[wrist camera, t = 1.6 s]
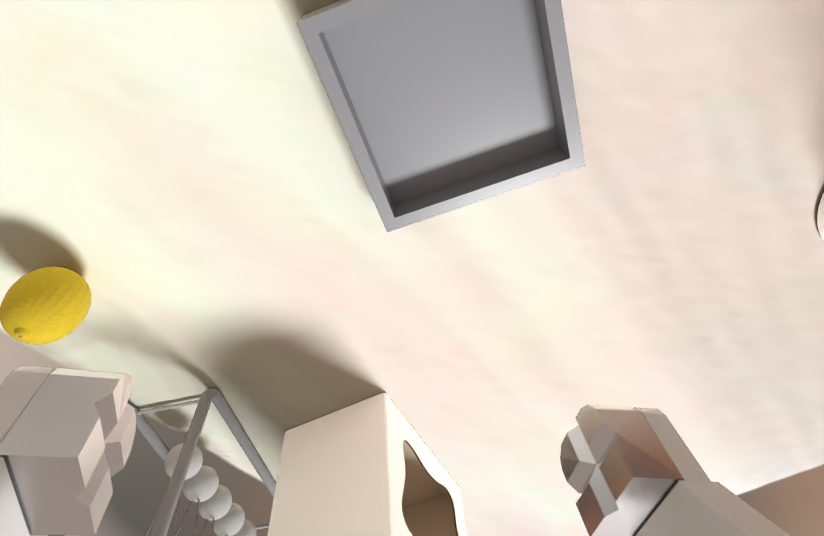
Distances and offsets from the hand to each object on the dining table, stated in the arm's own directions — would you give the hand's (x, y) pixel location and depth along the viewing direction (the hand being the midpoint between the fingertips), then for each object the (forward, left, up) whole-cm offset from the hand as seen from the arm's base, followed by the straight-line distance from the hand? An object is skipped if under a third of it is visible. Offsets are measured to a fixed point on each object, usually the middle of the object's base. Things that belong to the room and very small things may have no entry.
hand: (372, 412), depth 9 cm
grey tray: (-5, +4, -32) cm, 32 cm away
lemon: (+31, +8, -32) cm, 45 cm away
